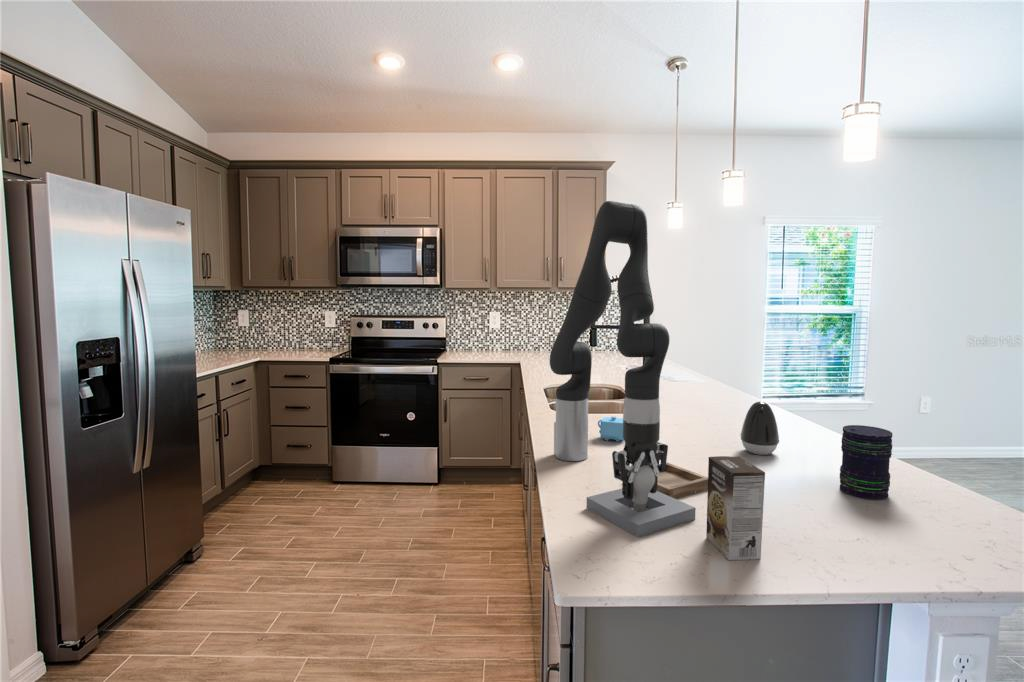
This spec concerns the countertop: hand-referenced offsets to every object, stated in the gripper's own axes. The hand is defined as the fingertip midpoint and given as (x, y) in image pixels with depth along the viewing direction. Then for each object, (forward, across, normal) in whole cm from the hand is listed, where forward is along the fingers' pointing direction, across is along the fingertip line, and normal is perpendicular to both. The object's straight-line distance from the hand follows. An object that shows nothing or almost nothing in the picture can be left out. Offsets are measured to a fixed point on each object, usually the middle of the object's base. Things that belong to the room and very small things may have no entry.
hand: (639, 495), depth 112 cm
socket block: (+4, 0, 0) cm, 4 cm away
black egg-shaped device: (+4, -61, -14) cm, 63 cm away
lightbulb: (+4, 0, 0) cm, 4 cm away
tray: (+4, -18, -9) cm, 21 cm away
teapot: (+4, -34, -46) cm, 57 cm away
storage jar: (+4, -54, +18) cm, 57 cm away
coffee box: (+4, -4, +20) cm, 21 cm away
